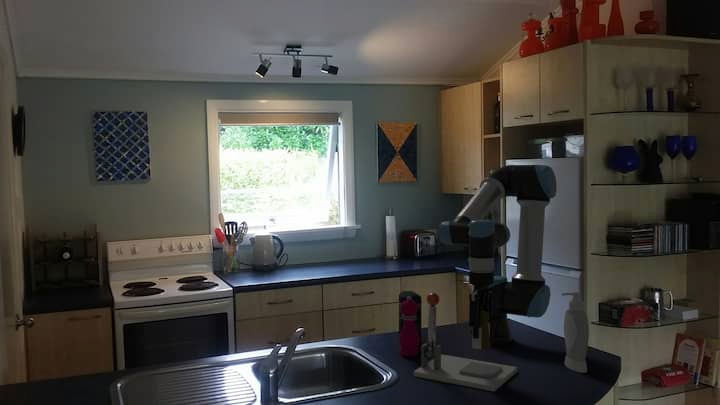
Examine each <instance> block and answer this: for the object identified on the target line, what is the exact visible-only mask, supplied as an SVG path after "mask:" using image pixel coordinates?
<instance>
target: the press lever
mask: <svg viewBox="0 0 720 405" xmlns="http://www.w3.org/2000/svg"><path fill="white" fill-rule="evenodd" d="M426 302H427V304H428V305H429V307H428V317H427V319H428V321H427V322H428V323H427V349H426V350H425V357H426V358H428V359H431V360H433V359H434V347H436V335H437V334H436V331H437V307H436V306H438V304H439V302H440V296H439V295H438V294H437V293H435V292H430V293H429V294H427V296H426Z"/></svg>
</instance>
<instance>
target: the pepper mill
mask: <svg viewBox="0 0 720 405" xmlns="http://www.w3.org/2000/svg"><path fill="white" fill-rule="evenodd" d="M400 309H401V312H402V313H403V314H402V319H403V329H402V332H401V334H400V337H399V336H398V343H399V345H400V346H401V347H400V349H399V350H400V351H399V352H400V354H401V355H402V356H406V357H411V356H412V357H413V356H417V355H419V345H420V344H421V343H420V338H419V335H418V333H417V330H416V327H415V319H416V316H417V315H416V312H417V311H418V305H417V303H416V302H414V301H412V297H411V296H408V297H407V301H404V302H403V303H402V304H401V308H400ZM419 343H420V344H419Z"/></svg>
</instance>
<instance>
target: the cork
mask: <svg viewBox="0 0 720 405" xmlns="http://www.w3.org/2000/svg"><path fill="white" fill-rule="evenodd" d="M489 318H490V316H489V313H488V312H487V311H483V310H482V316H481V324H480V327H482V342H481V349H480V350H489V349H490V348H491V346H492V345H490V337H489V329H488V321H489ZM470 347H471V348H472V340H470Z"/></svg>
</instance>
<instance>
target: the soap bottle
mask: <svg viewBox="0 0 720 405" xmlns="http://www.w3.org/2000/svg"><path fill="white" fill-rule="evenodd" d="M581 294H582V293H581V292H579V291H573V292H565V293H564V292H563V293H561V295H562V296H563V297H564V296H572V298H571V300H569V304H568V307H569V308H568V309H567V310H565V315H564V321H563V334H564V343H565V352H566V355H565V358H564V366H565V367H566V368H568V370H571V371H574V372H576V373H581V374H585V373H587V372H588V366H587V365H588V364H587V361H586V356H587V351H588V345H589V339H590V326H589V325H590V324H589V319H588V315H587V313H586V312H585V308H584V307H585V302H584V301H583V300H582V298H581Z"/></svg>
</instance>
